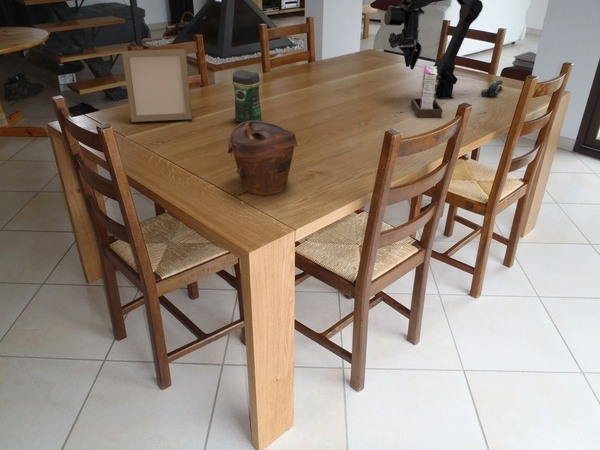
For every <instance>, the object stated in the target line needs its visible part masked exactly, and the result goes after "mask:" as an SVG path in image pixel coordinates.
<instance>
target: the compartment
mask: <svg viewBox="0 0 600 450" xmlns="http://www.w3.org/2000/svg"><path fill="white" fill-rule="evenodd" d="M420 100H421V97H412V98H411V100H410V107H411V109H412V111H413V113H414V115H415V116H416V118H419V119H421V118H423V119H424V118H426V119H441V118H442V113H443V109H442V107H441V106H440V104H439V103H438V102H437V100H436V99H435V98H434V104H433V109H420Z"/></svg>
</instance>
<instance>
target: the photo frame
mask: <svg viewBox="0 0 600 450" xmlns="http://www.w3.org/2000/svg"><path fill="white" fill-rule="evenodd" d="M121 56H122V63H123V71H124V77H125V85H126V91H127V100H128V106H129V107H128V108H129V114H130V120H131V123H138V122H140V123H141V122H158V121H159V122H160V121H178V120H192V119H193V110H192V100H191V91H190V90H191V89H190V80H189V71H188V69H189V68H188V60H187V51H186V48H174V49H173V48H172V49H171V48H170V49H142V50H121Z"/></svg>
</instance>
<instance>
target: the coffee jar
mask: <svg viewBox="0 0 600 450" xmlns="http://www.w3.org/2000/svg"><path fill="white" fill-rule="evenodd" d="M260 85H261V79H260V74H259V73H258V72H253V71H249V70H243V69H238V70H236V71H234V72H233V74H232V86H233V89H234V90H233V91H234V105H235V106H234V120H235V121H236V122H237V123H239V124H241V123H243V122H246V121H262V111H261V101H260Z"/></svg>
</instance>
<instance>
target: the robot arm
mask: <svg viewBox="0 0 600 450" xmlns="http://www.w3.org/2000/svg"><path fill="white" fill-rule="evenodd" d="M444 1H446V0H402V1H401V3H399V5H398V6H394V5H388V7H387V8H388V9H387V10H386V12H385V13H384V18H383V20H384V24H385V26H393V27H395V26H397V27H401V26H402V25H403V28H402V29H401V33H397V34H396V33H395V32H391V33H390V34H389V37H388V44H389V45H390V47H391V48H392V49H396V47H398V49H399V50H401V52H402V53H403V58H404V63H405V67H406V68H410V70H414V69H415V67H416V65H417V62H418V60H419V58H420V56H421V54H422V52H423V45H421V44H420V40H419V33H420V16H422V15H424V14H425V11H424V10H423V9H422V8H424V7H427V6H428V5H430V4H433V3H437V2H438V3H439V2H444ZM456 2H457V3H458V5H459V6H460V9H459V12H458V13H459V15H458V22H457V24H456V27H455V29H454V31H453V33H452V36H451V38H450V40H449V42H448V45H447V47H446V49H445V51H444V54H443V55H442V56H441V57H440V58H439V57H437V58H436V60H435V62H434V64H433V66H435V67H437V74H438V75H437V82H436V89H435V97H436V98H437V99H454V96H453V90H454V85H456V84H457V82H458V78H457V76H455V74H454V72H455V69H456V58H457V56H458V53H459V52H460V49H461V47H462V45H463V42H464V40H465V38H466V35H467V33H468V31H469V29H470V27H471V25H472V24H473V23H474V22H475V21H476V20H477V19H478V18H479V16H480V14H481V13H482V11H483V7H484V4H483V1H482V0H456Z"/></svg>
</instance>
